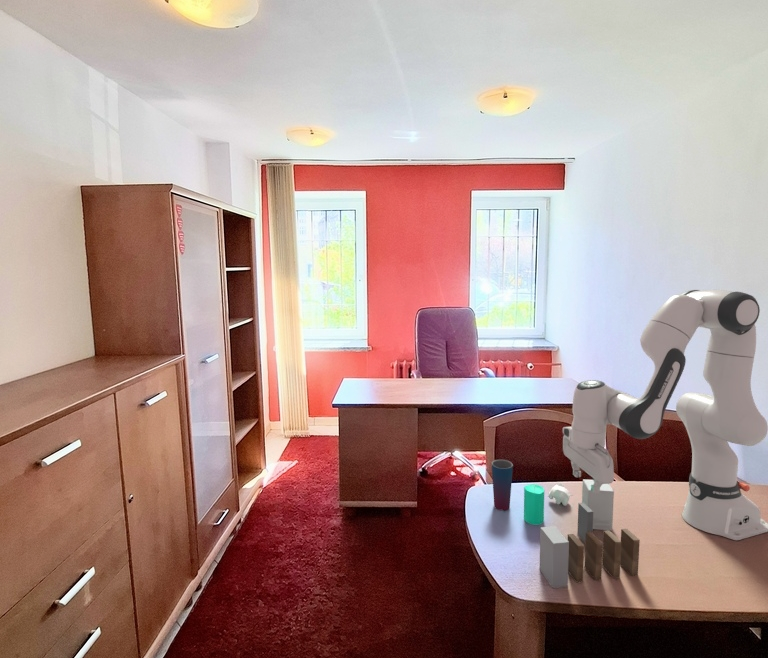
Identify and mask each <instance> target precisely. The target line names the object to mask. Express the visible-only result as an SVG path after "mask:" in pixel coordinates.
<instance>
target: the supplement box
mask: <svg viewBox="0 0 768 658" xmlns="http://www.w3.org/2000/svg"><path fill="white" fill-rule="evenodd" d="M593 484H594V481H593V479H582V489H581V490H582V491H581V492H582V493H581V495H582V496H581V503H585V504H586V505H587V506H588V507H589V508H590V509H591V510H592V511H593V530H601V531H607V530H610V531H613V520H614V519H613V517H614V516H613V515H614V497H615V496H614V495H615V491H614V489H613V488H612V486H611V485H610V484H602V485H601V487H600V492H599V493H594V492H593V491H592V490H591V485H593Z"/></svg>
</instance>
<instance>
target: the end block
mask: <svg viewBox="0 0 768 658" xmlns="http://www.w3.org/2000/svg"><path fill="white" fill-rule="evenodd" d="M539 537H540V538H539V571H540V572H541V574H542V575H543V577H544V578H545V580H546V581H547V582H548V584H549V585H550V587H551V588H552V589H555V588H565V587H569V586H568V585H569V583H568V582H569V572H568V558H569V541H568V538H566V537H565V535H563V533H562V532H561V531H560V530H559V528H558V527H557V526H556V525H550V526H541V527H540V535H539Z"/></svg>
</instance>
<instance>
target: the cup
mask: <svg viewBox="0 0 768 658" xmlns="http://www.w3.org/2000/svg"><path fill="white" fill-rule="evenodd" d="M513 468H514V464H513V463H512V462H511V461H509V460H507V459H495V460H492V461H491V473H492V474H491V475H492V477H491V478H492V492H493V493H492V494H493V507H494V508H495V509H497V510H499V511H508V510H509V509H510V507H511V495H512V494H511V493H512V481H513Z"/></svg>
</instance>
